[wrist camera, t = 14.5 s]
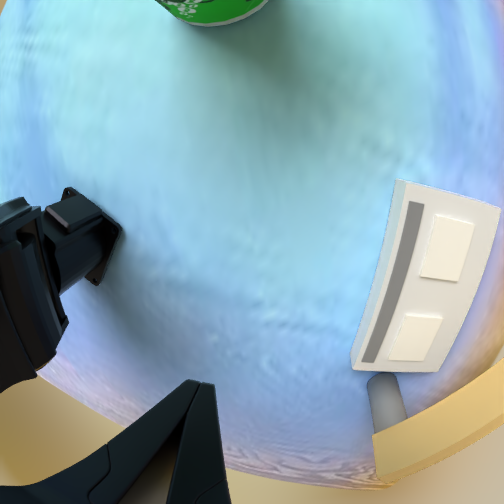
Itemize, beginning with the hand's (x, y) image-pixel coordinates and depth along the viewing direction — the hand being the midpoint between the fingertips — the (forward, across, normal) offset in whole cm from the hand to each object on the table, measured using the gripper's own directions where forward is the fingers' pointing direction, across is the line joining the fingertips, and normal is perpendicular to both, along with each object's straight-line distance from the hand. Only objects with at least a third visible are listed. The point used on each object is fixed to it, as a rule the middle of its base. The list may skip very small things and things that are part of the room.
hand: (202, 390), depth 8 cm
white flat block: (+12, -12, +1) cm, 18 cm away
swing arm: (+12, -18, +6) cm, 22 cm away
